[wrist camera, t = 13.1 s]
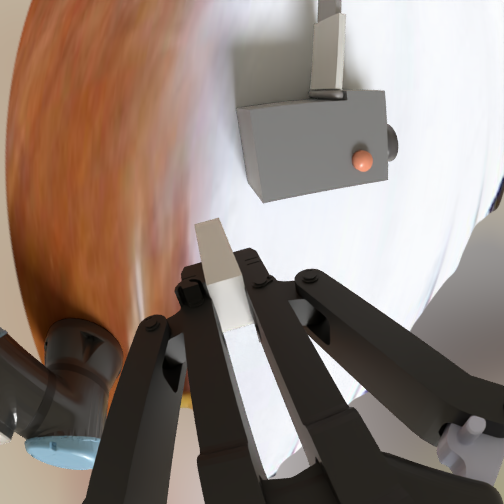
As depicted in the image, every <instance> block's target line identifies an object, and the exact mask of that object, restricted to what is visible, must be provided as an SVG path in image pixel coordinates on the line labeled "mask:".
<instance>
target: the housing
mask: <svg viewBox="0 0 504 504" xmlns="http://www.w3.org/2000/svg"><path fill="white" fill-rule="evenodd" d="M341 91H342V92H343V97H342V98H341V99H333V98H317V99H307V100H296V101H286V102H277V103H269V104H261V105H254V106H248V107H241V108H236V111H237V117H238V123H239V129H240V135H241V141H242V148H243V154H244V160H245V166H246V173H247V179H248V184H249V185H250V186H251V188H252V189H253V190H254V192H255V193H256V194H257V196H258V197H259V198H260V200H261V201H262V202H263V203H267V202H271V201H276V200H281V199H286V198H291V197H296V196H301V195H306V194H312V193H317V192H322V191H327V190H333V189H338V188H344V187H350V186H355V185H361V184H367V183H373V182H379V181H385V180H388V161H392V160H394V159H395V157H396V156H397V153H398V140H397V136H396V133H395V131H394V130H393V128H392V127H391V126H390V125H389V124H387V116H386V101H385V91H380V90H352V89H349V90H341Z"/></svg>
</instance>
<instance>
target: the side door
mask: <svg viewBox="0 0 504 504" xmlns="http://www.w3.org/2000/svg"><path fill="white" fill-rule="evenodd" d="M345 21H346V14H342V13H341V0H318V23H316V24H314V35H313V55H312V71H311V86H310V89H312V90H311V91H309V93H308V95H309V97H311V98H333V99H341V98H342V97H343V92H342V91H341V90H342V82H343V67H344V48H345Z"/></svg>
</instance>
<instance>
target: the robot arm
mask: <svg viewBox="0 0 504 504" xmlns="http://www.w3.org/2000/svg"><path fill="white" fill-rule="evenodd" d="M195 230H196V236H197V241H198V246H199V251H200V257H201V263H197V264H194V265H190V266H187V267H184V269H183V271H182V273H181V278H182V282H180V283H179V284H178V285H177V286H176V287H175V294H176V296H177V298H178V301H179V303H180V306H181V309H180V311H179V312H177V313H176V314H175V315H173V316H171V317H169V318H168V319H166V318H165V317H164V316H162V315H152V316H149V317H147V318H145V319H144V320H143V321H142V322H141V323H140V325H139V326H138V329H137V331H136V334H135V336H134V339H133V342H132V345H131V347H130V350H129V353H128V356H127V358H126V361H125V364H124V367H123V370H122V373H121V376H120V379H119V382H118V385H117V388H116V391H115V394H114V397H113V400H112V403H111V406H110V409H109V413H108V416H107V407H108V397H109V391H110V389H111V388H112V386H113V384H114V382H115V380H116V378H117V377H118V376H119V374H120V372H121V369H122V364H123V351H122V348H121V346H120V344H119V343H118V341H117V340H116V339H115V338H114V337H113V336H112V335H111V334H110V333H109V332H108V331H107V330H105V329H104V328H102V327H100V326H98V325H97V324H94V323H92V322H89V321H86V320H82V319H74V318H70V319H63V320H60V321H57V322H56V323H54V324H53V325H52V326H51V327H50V329H49V331H48V333H47V336H46V339H45V344H44V349H45V366H44V365H43V364H42V363H41V362H39V361H38V360H37V359H36V358H34V357H33V356H32V355H31V354H30V353H28V352H27V351H26V350H25V349H23V347H21V346H20V345H19V344H18V343H17V342H16V341H15V340H14V339H13V338H12V337H11V336H10V335H8V332H7V331H6V330H3V329H2V328H1V327H0V444H4V443H8V442H10V441H11V438H12V436H13V433H14V432H16V433H17V434H19V435H20V436H22V437H24V438H25V439H26V441H25V448H26V451H27V452H28V453H29V454H31V456H32V457H34V458H36V459H38V460H40V461H42V462H44V463H47V464H50V465H53V466H57V467H61V468H67V469H74V470H87V469H93V470H92V474H91V478H90V482H89V486H88V491H87V495H86V498H85V500H84V501H83V503H82V504H167V496H168V488H169V480H170V472H171V465H172V458H173V450H174V443H175V437H176V430H177V424H178V417H179V410H180V405H181V399H182V393H183V387H184V381H185V375H186V370H187V369H188V377H189V385H190V392H191V399H192V405H193V412H194V418H195V424H196V430H197V436H198V442H199V447H200V455H199V456H198V457H197V466H198V472H199V477H200V482H201V487H202V492H203V497H204V501H205V504H503V501H502V498H501V496H500V494H499V492H498V491H497V490H496V488H494V487H493V486H494V483H495V481H496V478H497V475H498V472H499V470H500V467H501V464H502V461H503V458H504V386H503V385H500V384H496V383H493V382H490V381H487V380H484V379H480V378H477V377H474V376H471V375H469V374H468V373H466V372H465V371H464V370H462V369H461V368H459V367H458V366H457V365H455V364H454V363H453V362H451V361H450V360H449V359H447V358H446V357H444V356H443V355H442V354H440V353H439V352H438V351H436V350H435V349H433V348H432V347H431V346H429V345H428V344H426V343H425V342H424V341H422V340H421V339H419V338H418V337H417V336H415V335H414V334H412V333H411V332H409V331H408V330H407V329H405V328H404V327H402V326H401V325H400V324H398V323H397V322H395V321H394V320H392V319H391V318H390V317H388V316H387V315H385V314H384V313H382V312H381V311H379V310H378V309H377V308H375V307H374V306H372V305H371V304H369V303H368V302H366V301H365V300H364V299H362V298H361V297H359V296H358V295H356V294H355V293H353V292H352V291H350V290H349V289H348V288H346V287H345V286H343V285H342V284H340V283H339V282H337V281H336V280H334V279H333V278H331V277H330V276H328V275H327V274H325V273H324V272H322V271H320V270H318V269H306V270H303V271H301V272H299V273H298V274H297V275H296V276H295V281H277V280H276V279H275V278H274V277H273V276H272V275H269V273H268V271H267V269H266V268H265V266H264V264H263V262H262V261H261V259H260V257H259V255H258V253H257V252H256V251H255V250H253V249H251V248H247V249H243V250H240V251H236V252H232V249H231V247H230V244H229V242H228V239H227V237H226V234H225V232H224V229H223V227H222V225H221V222H220V220H219V218H216V219H212V220H209V221H205V222H202V223H198V224H195ZM254 323H255V327H256V331H257V335H258V339H259V342H261V344H262V346H263V349H264V352H265V354H266V357H267V359H268V362H269V364H270V367H271V369H272V372H273V375H274V377H275V380H276V382H277V385H278V387H279V390H280V392H281V395H282V397H283V400H284V402H285V405H286V407H287V410H288V412H289V414H290V417H291V419H292V422H293V424H294V427H295V429H296V432H297V434H298V436H299V439H300V441H301V444H302V446H303V448H304V451H305V453H306V456H307V459H308V462H309V465H310V467H309V468H307V469H305V470H304V471H302V472H301V473H299V474H297V475H296V476H294V477H291V478H284V479H270V480H268V479H267V476H266V474H265V472H264V469H263V466H262V463H261V460H260V457H259V454H258V451H257V447H256V444H255V441H254V438H253V435H252V431H251V428H250V425H249V422H248V418H247V415H246V412H245V408H244V405H243V402H242V398H241V395H240V391H239V388H238V384H237V381H236V377H235V374H234V370H233V366H232V363H231V359H230V355H229V352H228V348H227V344H226V341H225V338H224V335H223V333H224V332H227V331H231V330H234V329H237V328H241V327H244V326H247V325H251V324H254ZM307 334H308V335H309V336H310V337H311V338H312V339H313V340H314V341H315V342H316V343H317V344H318V345H319V346H320V347H321V348H322V349H323V350H325V351H326V352H327V353H328V354H329V355H330V356H331V357H332V358H333V359H334V360H335V361H336V362H337V363H338V364H339V365H340V366H342V367H343V368H344V369H345V370H346V371H347V372H348V373H349V374H350V375H351V376H352V377H353V378H354V379H356V380H357V381H358V382H359V383H360V384H361V385H362V386H363V387H364V388H365V389H366V390H367V391H369V392H370V393H371V394H372V395H373V396H374V397H375V398H376V399H377V400H378V401H379V402H380V403H382V404H383V405H384V406H385V407H386V408H387V409H388V410H389V411H390V412H392V413H393V414H394V415H395V416H396V417H397V418H398V419H399V420H400V421H401V422H403V423H404V424H405V425H406V426H407V427H408V428H409V429H410V430H411V431H413V432H414V433H415V434H416V435H418V436H419V437H420V438H421V439H423V440H425V441H426V442H428V443H430V444H432V445H433V446H436V447H437V455H438V458H439V461H440V462H441V464H444V465H446V466H448V467H449V468H450V470H451V471H452V473H453V474H451V473H447V472H444V471H441V470H437V469H434V468H431V467H428V466H424V465H421V464H418V463H415V462H412V461H409V460H407V459H404V458H401V457H398V456H395V455H392V454H390V453H385V452H381V451H380V449H379V447H378V445H377V444H376V442H375V440H374V438H373V437H372V435H371V433H370V431H369V430H368V428H367V426H366V424H365V423H364V421H363V419H362V418H361V416H360V414H359V413H358V411H357V410H356V409H355V408H354V407H349V406H348V405H347V403H346V402H345V400H344V398H343V397H342V395H341V393H340V391H339V389H338V388H337V386H336V384H335V382H334V381H333V379H332V377H331V375H330V373H329V372H328V370H327V368H326V366H325V365H324V363H323V361H322V359H321V358H320V356H319V354H318V352H317V351H316V349H315V347H314V345H313V344H312V342H311V340H310V338H309V336H308V335H307ZM106 418H107V419H106Z"/></svg>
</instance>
